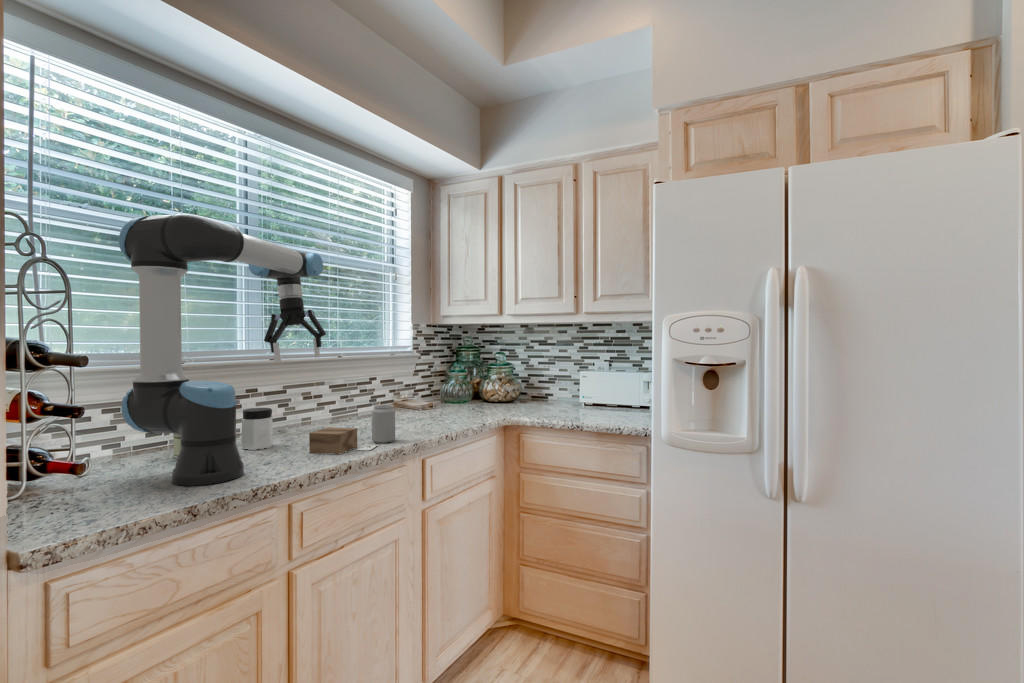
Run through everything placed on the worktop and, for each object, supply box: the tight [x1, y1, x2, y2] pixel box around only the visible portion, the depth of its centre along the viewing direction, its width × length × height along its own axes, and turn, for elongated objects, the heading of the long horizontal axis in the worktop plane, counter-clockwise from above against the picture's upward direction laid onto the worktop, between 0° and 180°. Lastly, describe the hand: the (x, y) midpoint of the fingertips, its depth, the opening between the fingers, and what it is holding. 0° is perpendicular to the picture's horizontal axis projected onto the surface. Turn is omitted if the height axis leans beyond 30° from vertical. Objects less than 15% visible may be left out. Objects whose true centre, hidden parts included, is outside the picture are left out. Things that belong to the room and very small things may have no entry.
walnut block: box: [308, 426, 358, 455], centre depth 155 cm, size 10×10×6 cm
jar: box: [241, 407, 274, 451], centre depth 160 cm, size 9×8×12 cm
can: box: [371, 404, 396, 444], centre depth 168 cm, size 8×8×12 cm
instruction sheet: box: [362, 444, 380, 448], centre depth 158 cm, size 8×5×1 cm, turn 176°
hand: (297, 359), depth 174 cm, fingers open, 13 cm apart
